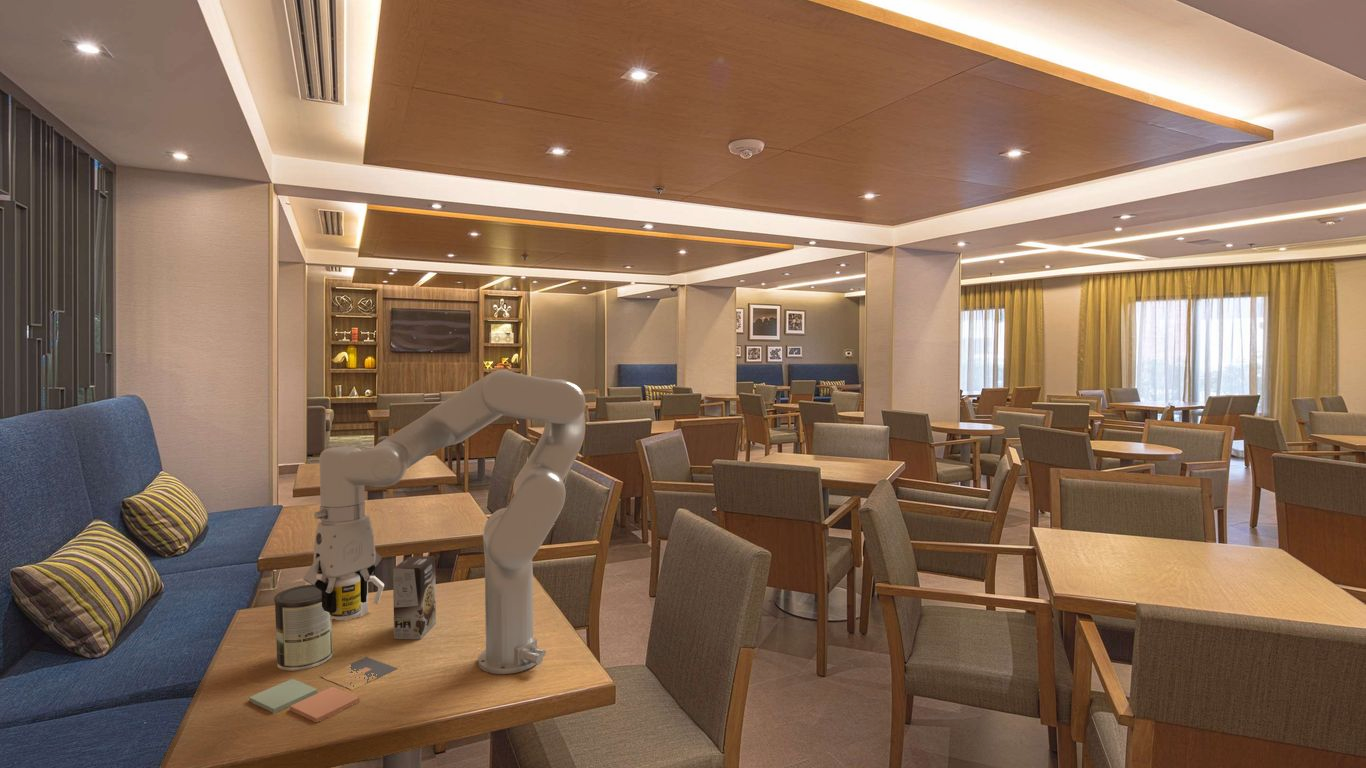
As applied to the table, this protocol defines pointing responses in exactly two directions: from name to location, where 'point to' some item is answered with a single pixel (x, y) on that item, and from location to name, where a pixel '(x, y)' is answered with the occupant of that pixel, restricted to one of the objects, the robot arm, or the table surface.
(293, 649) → the coffee can
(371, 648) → the table surface
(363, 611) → the mug
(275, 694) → the pad sage
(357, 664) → the tile
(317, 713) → the pad terracotta
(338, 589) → the supplement bottle
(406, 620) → the coffee box
